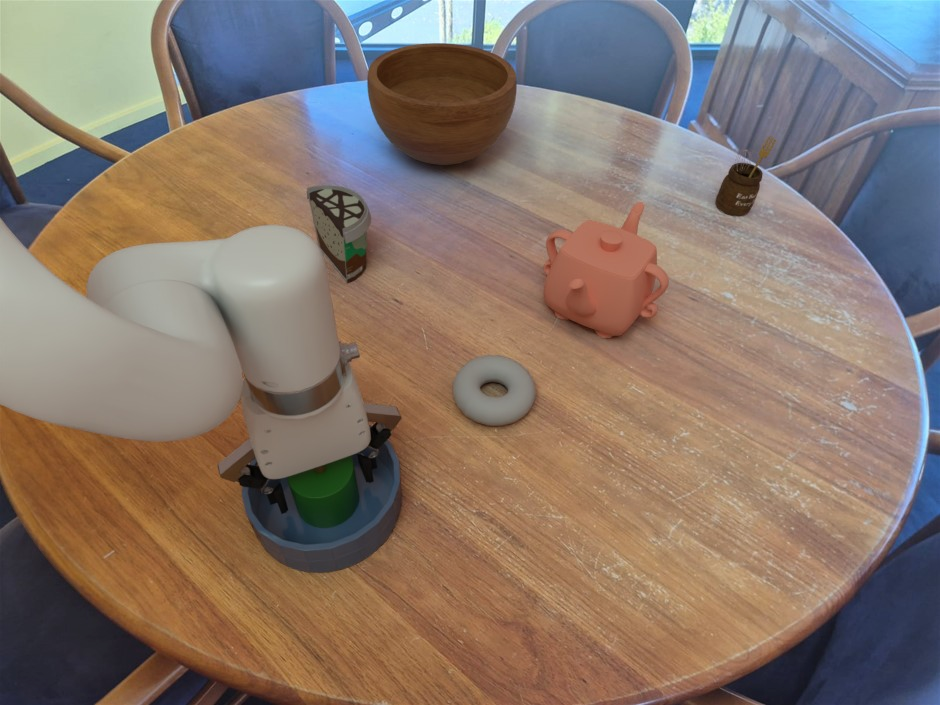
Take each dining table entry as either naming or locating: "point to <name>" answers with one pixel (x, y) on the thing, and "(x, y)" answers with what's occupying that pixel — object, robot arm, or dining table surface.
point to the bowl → (441, 100)
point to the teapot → (603, 275)
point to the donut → (494, 408)
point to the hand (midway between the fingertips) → (324, 485)
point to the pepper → (326, 493)
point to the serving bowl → (336, 544)
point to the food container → (341, 227)
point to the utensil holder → (741, 185)
